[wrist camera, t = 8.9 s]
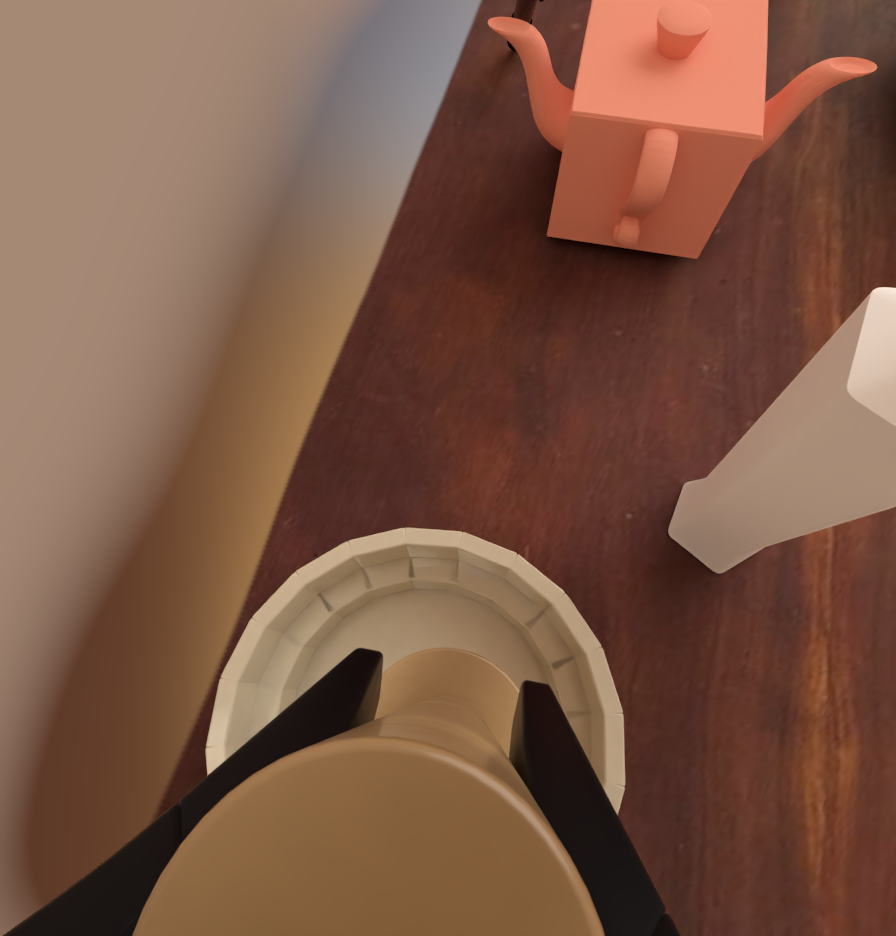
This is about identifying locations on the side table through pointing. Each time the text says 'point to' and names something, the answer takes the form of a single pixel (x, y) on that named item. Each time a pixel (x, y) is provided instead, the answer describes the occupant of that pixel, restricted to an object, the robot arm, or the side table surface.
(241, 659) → the bowl
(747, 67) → the teapot
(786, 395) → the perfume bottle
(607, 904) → the robot arm
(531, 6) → the pen
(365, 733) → the tan post
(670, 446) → the side table surface
